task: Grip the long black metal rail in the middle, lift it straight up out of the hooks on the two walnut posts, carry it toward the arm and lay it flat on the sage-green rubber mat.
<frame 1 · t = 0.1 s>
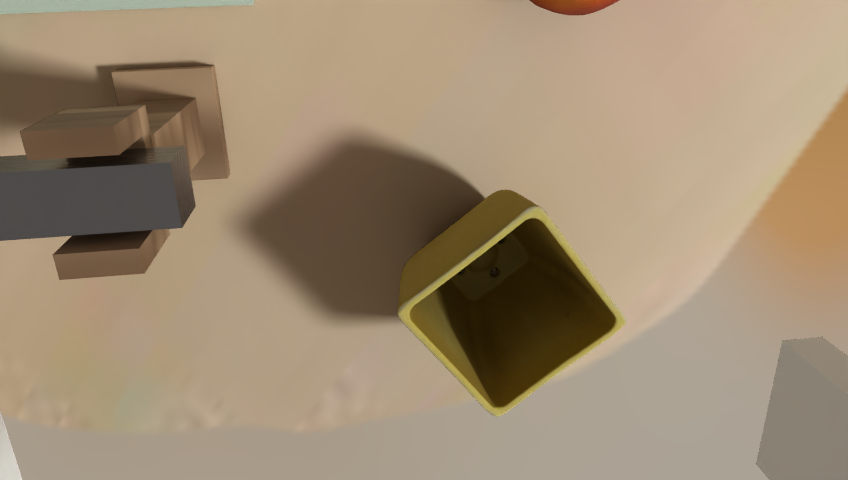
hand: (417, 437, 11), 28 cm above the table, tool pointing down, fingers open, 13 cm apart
flower pot: (479, 249, 41), on the table
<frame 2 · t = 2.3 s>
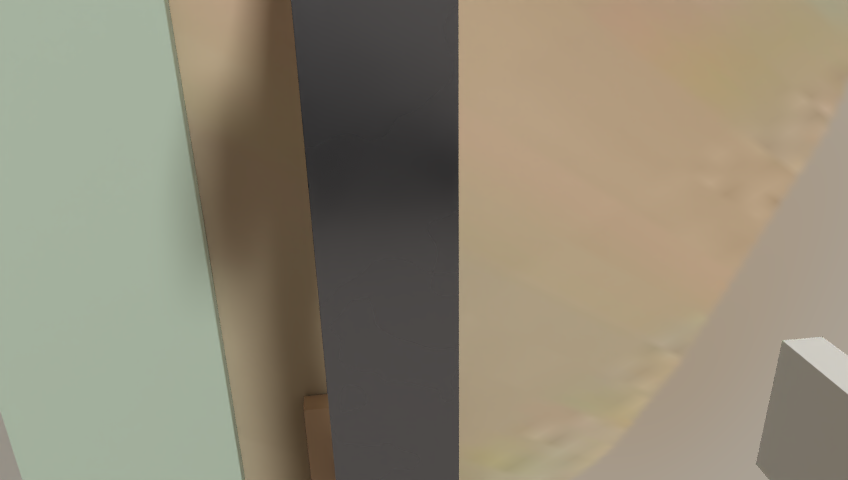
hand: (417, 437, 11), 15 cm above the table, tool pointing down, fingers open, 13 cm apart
mat: (25, 199, 23), on the table
rail: (383, 322, 15), point 11 cm above the table, touching hook stand
hook stand: (361, 179, 25), on the table
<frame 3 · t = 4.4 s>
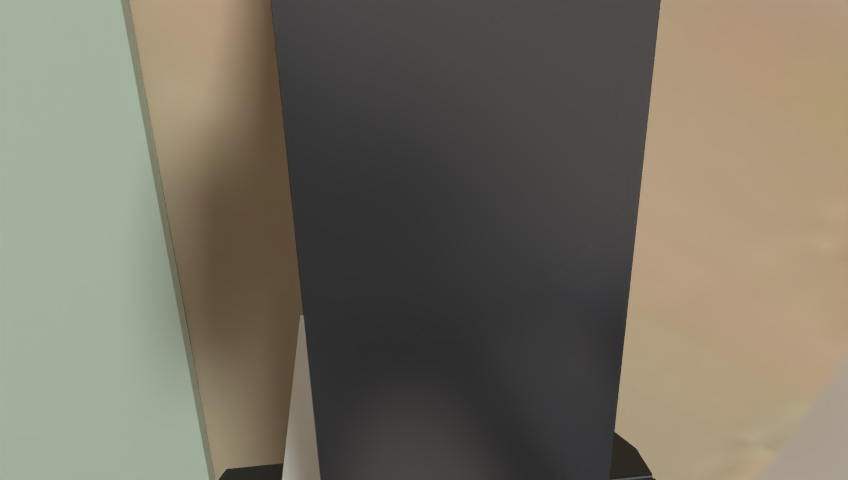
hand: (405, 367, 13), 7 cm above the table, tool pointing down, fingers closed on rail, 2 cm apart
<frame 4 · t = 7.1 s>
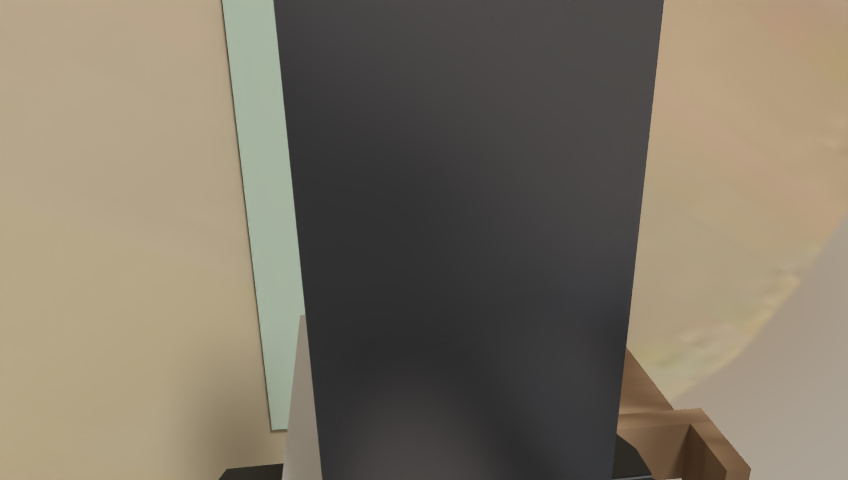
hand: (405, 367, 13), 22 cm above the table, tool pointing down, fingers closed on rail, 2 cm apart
mat: (360, 141, 34), on the table
hook stand: (586, 133, 35), on the table
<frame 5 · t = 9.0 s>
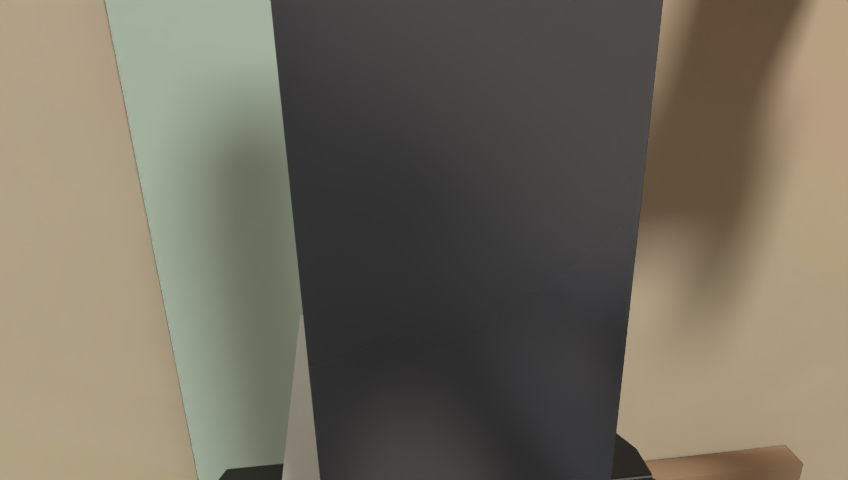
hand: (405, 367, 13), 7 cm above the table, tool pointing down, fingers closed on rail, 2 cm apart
mat: (373, 239, 19), on the table
hook stand: (754, 212, 21), on the table
when the fingers open (1 cm above the table, at t = 10.3 s): rail drops 5 cm, resting on mat.
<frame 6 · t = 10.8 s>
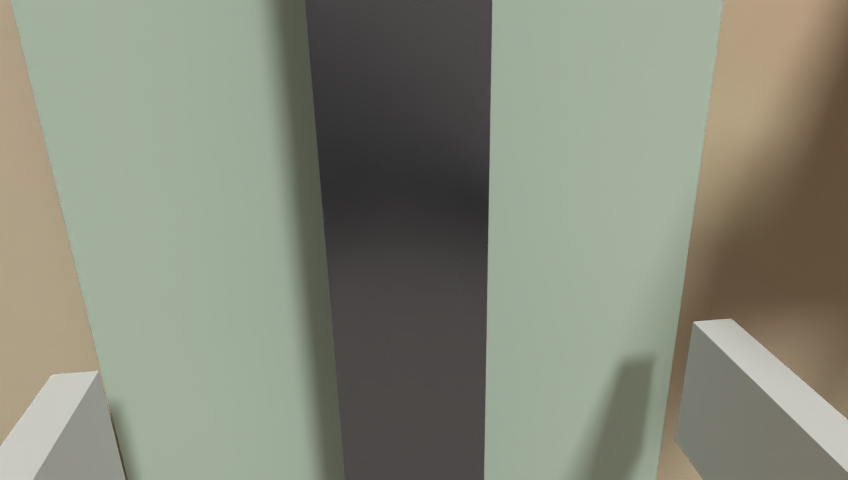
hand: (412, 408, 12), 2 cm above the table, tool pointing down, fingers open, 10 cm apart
mat: (400, 341, 14), on the table
rail: (401, 357, 14), point 1 cm above the table, touching mat
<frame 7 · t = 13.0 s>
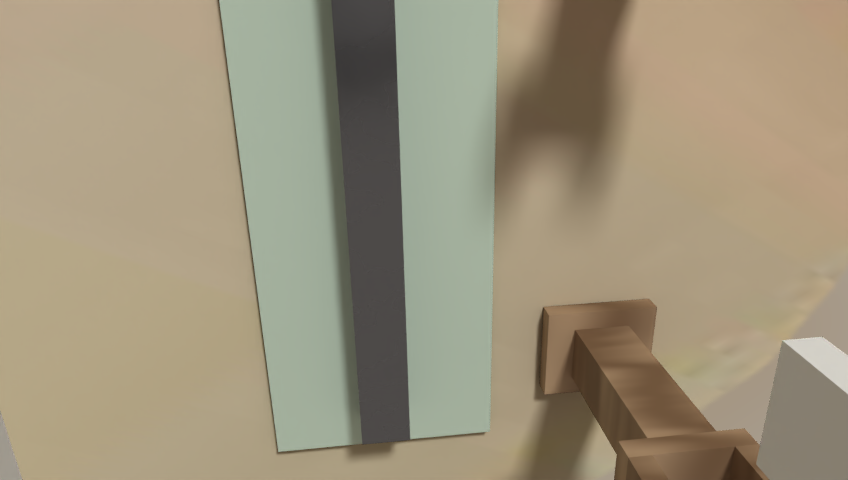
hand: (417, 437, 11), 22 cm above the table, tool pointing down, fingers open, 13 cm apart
mat: (369, 144, 31), on the table
rail: (369, 148, 31), point 1 cm above the table, touching mat
hook stand: (611, 132, 32), on the table
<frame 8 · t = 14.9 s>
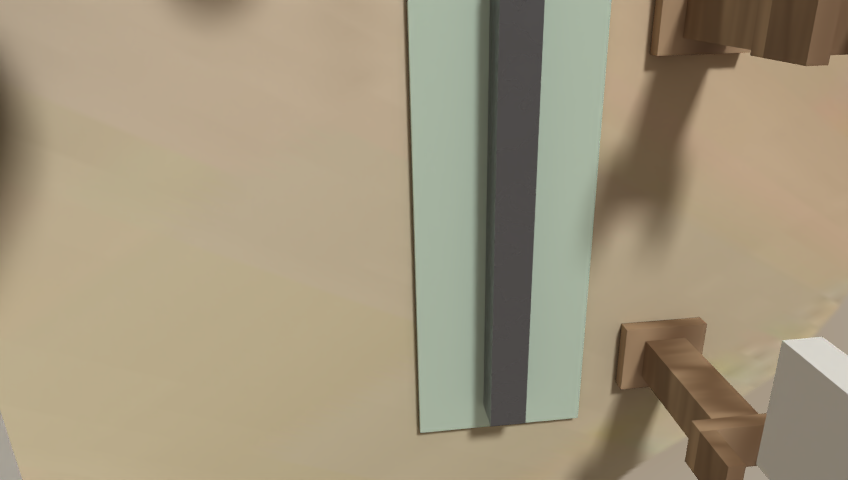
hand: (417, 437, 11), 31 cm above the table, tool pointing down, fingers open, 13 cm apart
mat: (503, 207, 43), on the table
rail: (505, 211, 43), point 1 cm above the table, touching mat
hook stand: (677, 197, 44), on the table
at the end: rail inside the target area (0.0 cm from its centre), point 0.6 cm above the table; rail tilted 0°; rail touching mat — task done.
